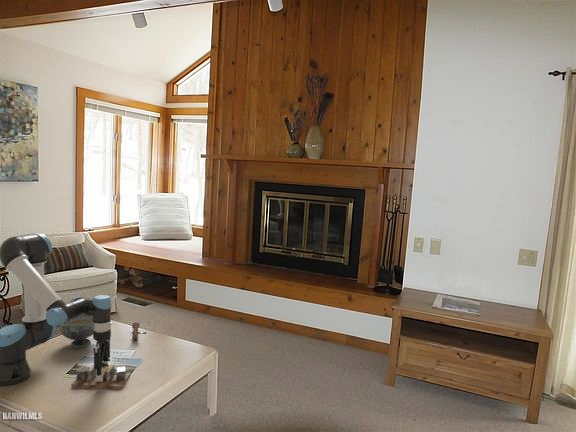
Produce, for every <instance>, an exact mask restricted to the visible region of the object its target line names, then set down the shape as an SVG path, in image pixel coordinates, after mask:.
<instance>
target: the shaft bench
mask: <svg viewBox="0 0 576 432" xmlns="http://www.w3.org/2000/svg"><path fill="white" fill-rule="evenodd" d="M92 365H93V366H91V368H90V367H89V366H80V367H79V368H77V369H76V373H75V374H76V378H75V379H74V380H73V382H72V383H71V386H70V387H71V388H80V389H81V388H82V389H101V390H103V389H104V390H122V388H124V386H125V384H126V383H127V382H128V380H129V379H130V377H131V373H130V372H129V373H126V374H125V380H120V381H117V375H112V370H115V364H111V365H110V366H109V369H108V370H107V371H106V381H103V382H96V369H94V364H92Z"/></svg>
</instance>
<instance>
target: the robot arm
mask: <svg viewBox="0 0 576 432" xmlns="http://www.w3.org/2000/svg"><path fill="white" fill-rule="evenodd" d="M52 251H53V245H52V242H51V240H50V238H49V237H48V236H47V235H45V234H44V233H41V232H39V233H36V232H35V233H28V234H22V235H16V236H11V237H9V238H6V239H5V240H4V241H3V242H2V243H1V244H0V262H1V264H2V266H3V267H4V268H5V270H7V271H8V272H12V274H13V275H14V276H15V277H16V278H17V279H18V280H19V281H20V282H21V284H22V285H23V294H24V295H23V297H24V314H25V315H24V316H23V317H22V318H21V323H16V324H15V323H14V324H9V325H6V326H4V327H2V328H0V385H6V386H12V385H16V384H19V383H22V382H24V381H26V380H27V379H29V378H30V377H31V375H32V374H31V371H32V370H31V368H30V366H29V363H28V360H27V351H28V350H29V351H30V350H31V349H33V348H35V347H38V346H40V345H42V344H45V343H46V342H49V341H50V340H51V339H52V338H54V336H55V333H56V329H57V326H59V325H61V324H64V323H65V322H68V321H70V320H72V319H75V318H77V317H80V316H82V315H89V316H93V330H94V331H93V335H92V338H93V340H95V341H96V344H95V347H93V350H92V351H93V365H94V369H96V382H103V367H102V363H104V364H108V365H109V362H110V361H111V337H112V330H111V328H112V325H113V322H112V318H111V317H112V316H111V315H112V300H111V296H110V295H108V294H99V295H96V296H94V297H93V298H90V297H85V296H74V297H72V299H70V300H69V302H67V303H65V301H64V300H63V299H62V298H61V297H60V296H59V295H58V293H57V292H56V291H55V290H54V289H53V288H52V286H51V285H50V284H49V283H48V282H47V280H45V270H44V269H45V267H44V265H45V264H46V263H47V262H48V256H49V255H51V252H52Z"/></svg>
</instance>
